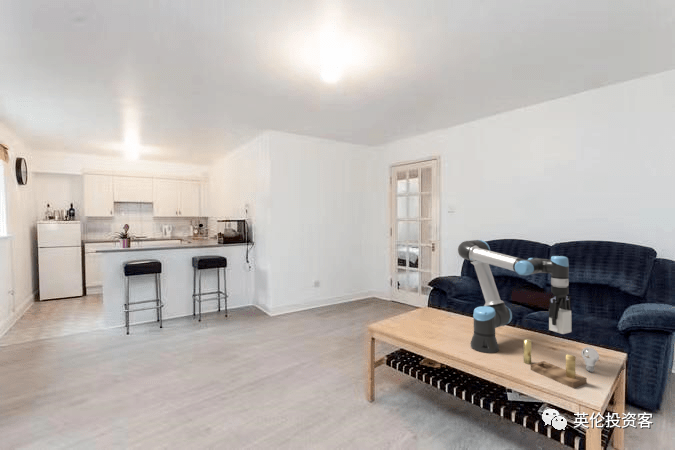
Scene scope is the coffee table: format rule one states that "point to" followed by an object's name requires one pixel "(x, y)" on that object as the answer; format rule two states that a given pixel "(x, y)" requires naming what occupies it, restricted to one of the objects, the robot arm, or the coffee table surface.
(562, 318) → the block
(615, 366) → the coffee table surface
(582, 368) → the coffee table surface
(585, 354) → the light bulb
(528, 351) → the pin
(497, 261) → the robot arm
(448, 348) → the coffee table surface
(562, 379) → the board
